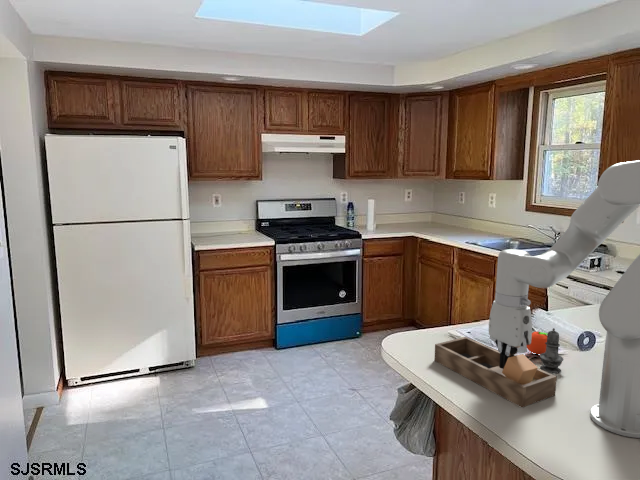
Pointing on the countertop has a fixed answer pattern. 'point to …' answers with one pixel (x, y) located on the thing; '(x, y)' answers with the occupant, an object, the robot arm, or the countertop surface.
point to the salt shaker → (551, 354)
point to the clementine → (538, 343)
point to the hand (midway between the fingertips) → (506, 367)
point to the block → (519, 369)
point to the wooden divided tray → (492, 371)
